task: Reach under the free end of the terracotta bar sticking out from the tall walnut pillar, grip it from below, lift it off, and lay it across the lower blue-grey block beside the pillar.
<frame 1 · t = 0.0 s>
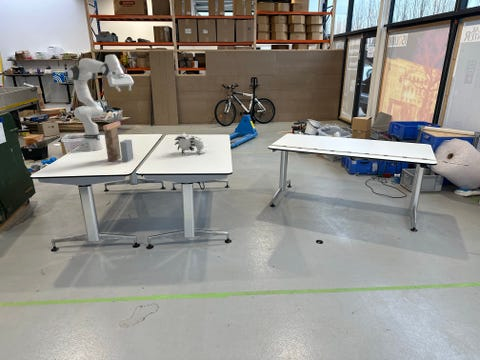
hand: (125, 90, 258), 54 cm above the table, tool tilted 30°, fingers open, 8 cm apart
bar: (112, 127, 267), point 26 cm above the table, touching pillar
blue-grey block: (128, 160, 271), on the table
pillar: (114, 159, 273), on the table
figurine: (192, 152, 295), on the table
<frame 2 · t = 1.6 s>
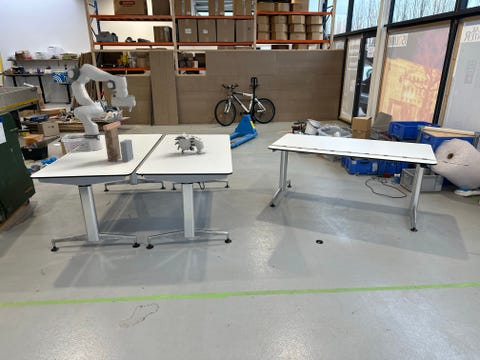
hand: (124, 111, 285), 35 cm above the table, tool pointing down, fingers open, 8 cm apart
nothing on the table moved.
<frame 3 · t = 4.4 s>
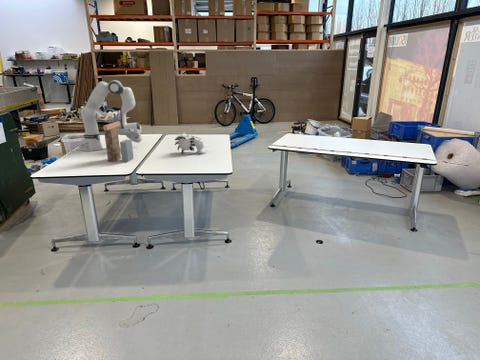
hand: (124, 129, 287), 21 cm above the table, tool pointing upward, fingers open, 8 cm apart
nothing on the table moved.
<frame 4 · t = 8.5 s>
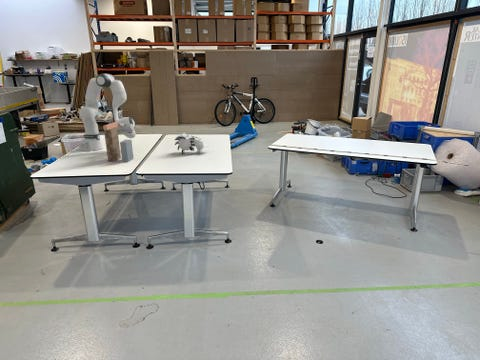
hand: (116, 123, 273), 28 cm above the table, tool pointing upward, fingers closed on bar, 3 cm apart
bar: (112, 127, 267), point 26 cm above the table, touching gripper, pillar
everything else where it was.
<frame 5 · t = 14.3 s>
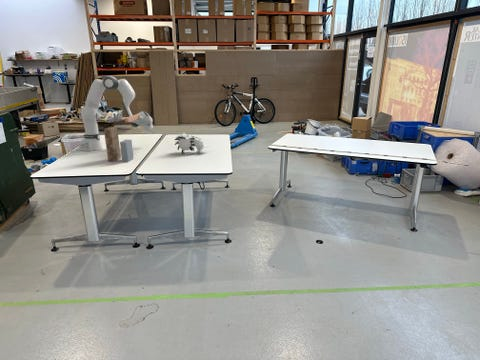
hand: (136, 116, 284), 32 cm above the table, tool pointing upward, fingers closed on bar, 3 cm apart
bar: (132, 119, 277), point 30 cm above the table, touching gripper
everything else where it was.
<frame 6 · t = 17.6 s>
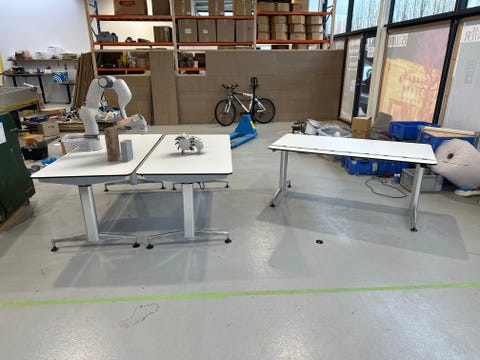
hand: (129, 119, 271), 31 cm above the table, tool pointing upward, fingers closed on bar, 3 cm apart
bar: (125, 123, 264), point 30 cm above the table, touching gripper
everything else where it was.
when the fingers open (19 cm above the table, at t = 20.6 s): bar stays where it is, resting on blue-grey block.
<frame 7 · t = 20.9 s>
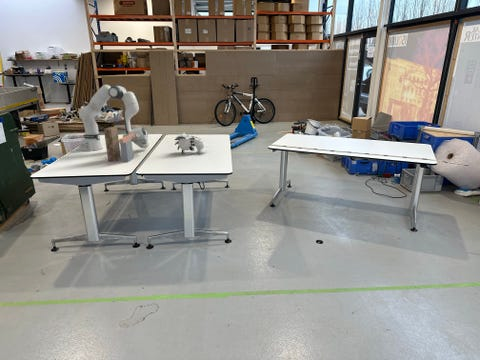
hand: (131, 134, 275), 19 cm above the table, tool pointing upward, fingers open, 6 cm apart
bar: (127, 140, 269), point 16 cm above the table, touching blue-grey block
everything else where it was.
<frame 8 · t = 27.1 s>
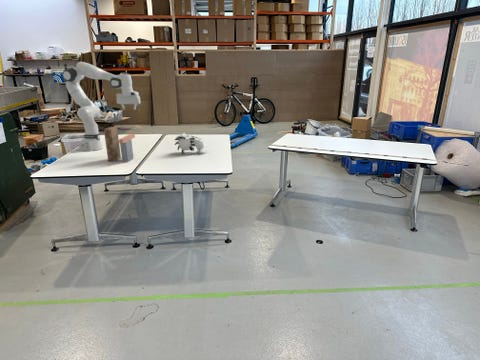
hand: (129, 109, 286), 37 cm above the table, tool pointing down, fingers open, 8 cm apart
nothing on the table moved.
at the end: bar inside the target area (0.0 cm from its centre), point 16.0 cm above the table; bar tilted 0°; the gripper is holding nothing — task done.
